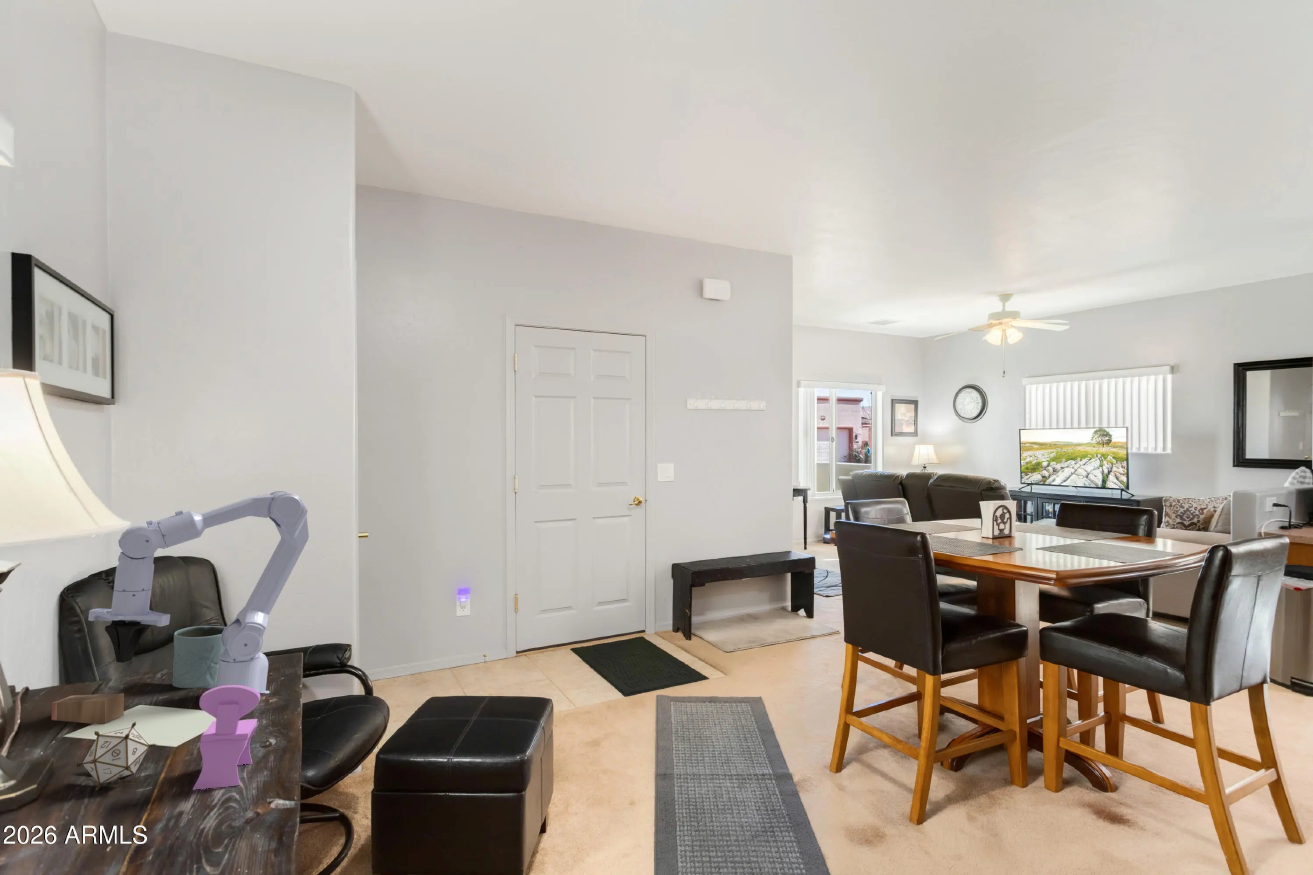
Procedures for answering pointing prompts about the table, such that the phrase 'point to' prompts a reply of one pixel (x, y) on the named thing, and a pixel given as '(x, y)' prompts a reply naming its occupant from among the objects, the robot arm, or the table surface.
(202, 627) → the green cylindrical pot
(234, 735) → the toy chair
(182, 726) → the board
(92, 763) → the game die
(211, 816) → the table surface
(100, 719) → the walnut block
